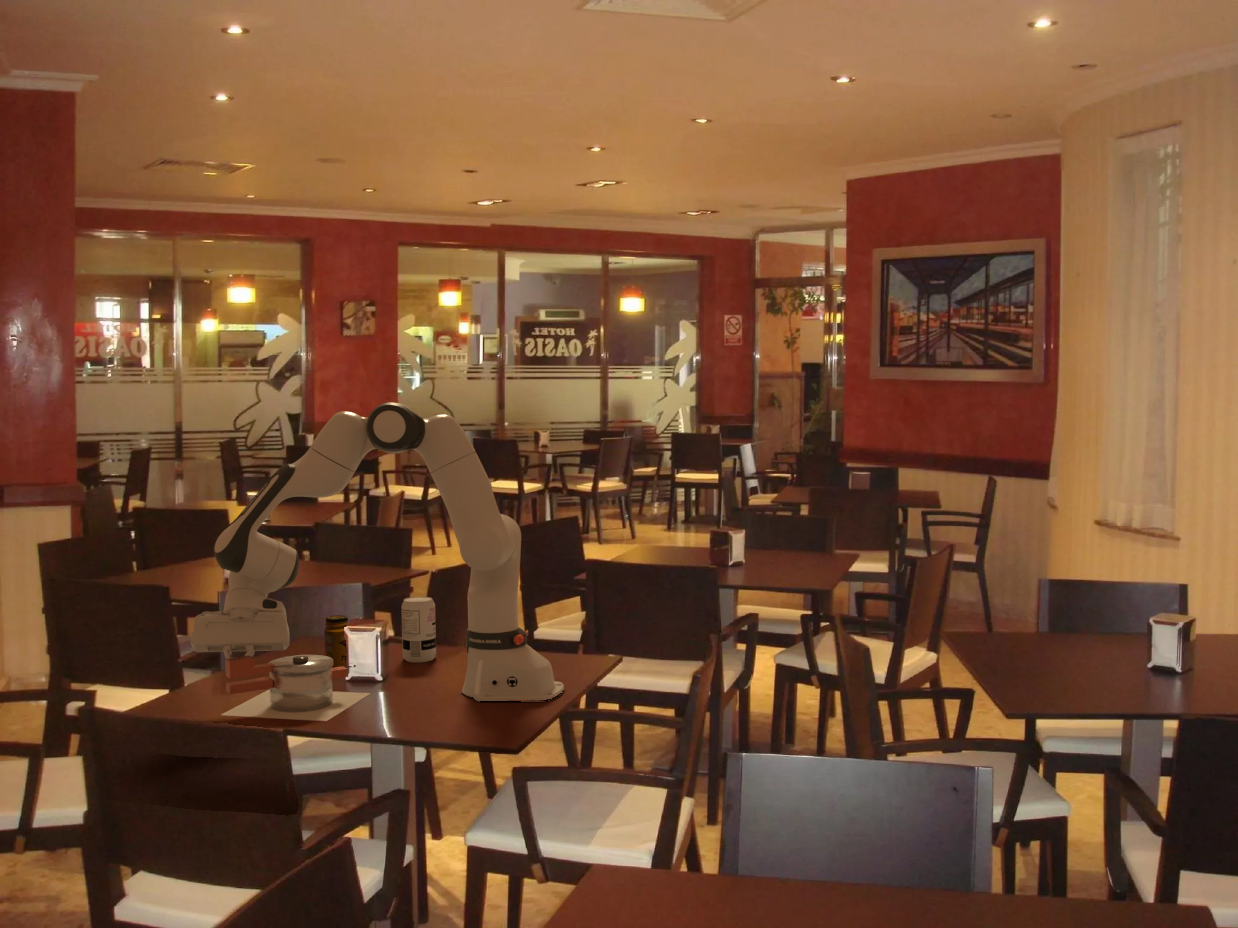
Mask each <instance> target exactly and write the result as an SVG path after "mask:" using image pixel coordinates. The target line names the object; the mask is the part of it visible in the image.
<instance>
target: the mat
mask: <svg viewBox="0 0 1238 928" xmlns="http://www.w3.org/2000/svg"><path fill="white" fill-rule="evenodd" d="M371 694H372V693H371V692H370V693H369V692H353V691H351V692H350V691H333V703H332V705H330V706H328V707H326V708H323V709H319V710H315V711H308V712H280V711H276V710H273V709H272V708H271V706H270V688H269V689H266V690H265V691H264V692H262V693H260V694H258V695H256V696H254V697H252V698H250V699H248V700H247V701H245V702H243V703H241V704H239V705H237V706H235V707H232V708H231V709H229V710H227V711H225V712H223V713H221V714H220V716H222V717H223V716H227V717H244V718H245V717H246V718H249V717H250V718H260V719H261V718H264V719H280V720H281V719H283V720H294V721H295V720H298V721H315V722H316V721H317V722H327V721H329V720H331V719H332V718H334V717H336V716H338V715H339V714H341V713H342V712H344V711H345V710H348V709H349V708H350V707H352V706H354V705H355V704H356V703H358V702H360V701H361V700H363V699H365V698H366V697H368V696H369V695H371Z"/></svg>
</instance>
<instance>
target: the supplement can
mask: <svg viewBox="0 0 1238 928" xmlns="http://www.w3.org/2000/svg"><path fill="white" fill-rule="evenodd" d="M436 627H437V626H436V604H435V602H434V600H433V598H432V597H429V596H412V597H405V598H403V602H402V604H401V636H402V637H401V639H402V640H401V643H402V647H401V648H402V659H404V660H405V661H406V662H408V663H415V664H416V663H426V662H430V661H433V660H434V658H436V657H437V635H436V634H437V633H436V632H437V631H436V630H437V629H436Z"/></svg>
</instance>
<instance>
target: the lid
mask: <svg viewBox="0 0 1238 928" xmlns="http://www.w3.org/2000/svg"><path fill="white" fill-rule="evenodd" d="M224 663H225V664H224V666H225V667H224V669H225V677H227V678H228V679H230V680H231V679H236V678H237V679H238V678H244V677H251V676H256V674H261V673H263V674H264V673H268V672H272V673H277V674H289V675H294V674H308V673H315V672H320V671H324V670H327V669H329V668H331V667H332V666H333V659H332V658H331V657H328V656H325V655H323V654H322V655H320V654H298V655H289V656H288V655H287V656H283V657H279V658H274V659H272V660H270V661H269V662H268V663H262V664H261V663H260V664H256V663H255V657H254V656H253V657H252V656H250V655H249V656H245V655H243V656H236V657H234V658H228V659H226V658H224ZM255 664H256V665H255Z"/></svg>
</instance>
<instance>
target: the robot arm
mask: <svg viewBox="0 0 1238 928" xmlns="http://www.w3.org/2000/svg"><path fill="white" fill-rule="evenodd" d="M373 450H377V451H381V452H384V453H387V454H390V455H398V454H404V453H406V452H409V451H411V450H412V451H415V452H416V453H418V454H419V456H420V457H421V458H422V460H423V461H424V463H425V465H426V468H427V469H428V472H429V474H430V476H431V478H432V480H433V481H434V484H435V487H436V488H437V490H438V492H439V495H440V497H441V498H442V501H443V502H444V505H445V507H446V510H447V514H448V516H449V520H450V523H451V526H452V529H453V533H454V535H455V539H456V541H457V543H458V547H459V553H460V556H461V559H462V560H463V562H464V563H465V564H466V565H467V566H468V567H469V568H470V576H469V577H470V578H469V584H468V585H469V586H468V590H467V621H468V623H467V624H468V627H467V629H466V634H465V635H466V636H465V646H466V653H467V661H466V662H467V664H466V671H465V672H466V673H465V677H464V683H463V686H462V690H461V692H462V694H463V695H465V696H466V697H469V698H472V697H473V699H474V700H475V701H477V702H480V701H507V700H546V699H551V698H552V697H555V696H557V695H558V694H560V693H562V694H563V692H564V691H565V686H564V683H563V682H561V681H556V680H555V675H554V671H553V670H554V669H553V667H552V664H551V662H550V660H548V659H547V658H546V657H545V656H543V655H542V654H540V653H539V652H538V651H536V650H535V649H533V647H531V646H530V645H528V636H529V630H528V629H526V630H525V631H524V630H523V629H522V628H521V627H520V626H519V597H518V596H519V579H520V570H521V567H520V566H521V551H522V549H521V547H522V546H521V545H522V532H521V528H520V526H519V523H517V522H516V521H515V519H514V518H512V517H510V516H508V515H507V514H506V515H505V514H503V513H500V510H499V507H498V504H497V501H496V498H495V494H494V490H493V486H492V482H491V480H490V478H489V477H488V476H489V475H488V474H487V472H486V470H485V467H484V466H483V463H482V462H481V460H480V458H479V456H478V454H477V452H476V450H475V448H474V445H473V444H472V442H471V440H470V438H469V437H468V435H467V434H466V432H465V430H464V429H463V427H462V426H461V425H460V424H459V423H458V421H457V420H456V418H455V417H453V416H451V415H449V414H447V413H445V414H444V413H443V414H442V413H441V414H435V415H432V416H430V417H426V418H423V417H421V416H420V415H419V414H417V413H416V412H415V411H413V410H412V409H411V408H410V407H409V406H407V405H406V404H402V403H398V402H392V401H391V402H389V401H388V402H384V403H381V404H379V405H377V406H376V407H375V408H374V409H373V410H371V412H369V415H368V416H367V417H365V416H361V415H359V414H357V413H355V412H352V411H346V410H345V411H344V410H343V411H342V410H341V411H339V412H336V413H335V414H333V416H331V418H330V419H329V420H327V422H326V423H325V425H324V426H323V427H322V429H321V430H320V432H318V434H317V435H316V437H315V438H314V440H313V442H312V444H311V445H310V447H309V448H308V450H306V452H305V453H304V454H303V455H302V456H301V457H300V458H299V459H297V460H296V461H295V462H292V463H285V464H283V465H281V467H279V468H278V469H277V470H276V471H275V472H274V473H273V475H271V476H270V478H269V479H268V480H267V481H266V482H265V483H264V485H262V487H260V489H259V490H258V491H257V492H256V494H255V496H254V497H252V499H251V500H250V501H249V502H248V504H247V505H246V506H245V507H244V508H243V509H242V511H241V512H240V514H239V515H238V516H237V517H236V518H235V519H234V520H233V521H231V523H230V524H228V525H227V526H226V527H225V528H224V529H223V530H222V532H221V533H220V534H219V535H218V537H217V538H216V541H215V543H214V545H213V554H214V557H215V560H216V562H217V564H218V565H219V568H221V569H223V570H226V571H229V573H228V574H229V575H228V583H227V584H228V590H227V591H226V594H225V599H224V605H223V610H220V611H219V610H218V611H202V613H199V614H197V615H195V617H194V620H193V623H192V625H193V630H192V632H191V636H190V645H191V648H192V649H193V651H195V652H196V653H220V652H223V654H224V656H225V659H228V658H235V657H233V656H232V657H231V655H232V654H233V653H232V652H245V654H244V656H249V655H250V656H252V657H253V658H254V655H255V652H264V651H266V652H267V651H270V652H272V651H274V652H275V651H285V650H287V649H288V647H289V646H290V628H289V624H288V621H287V611H286V608H285V605H284V604H283V602H282V601H279V600H276V599H272V598H268V595H269V594H270V593H276V592H278V591H280V590H283V589H285V588H286V587H288V586H290V585H292V583H294V581H295V580H296V578H297V576H298V575H299V574H298V573H299V569H300V558H299V553H298V552H297V550H296V549H295V548H293V547H292V546H290V545H288V544H285V543H284V542H282V541H279V540H277V539H274V538H271V537H270V536H267V535H265V534H262V533H260V532H258V529H259V528H260V526H261V525H263V523H264V522H265V521H266V520H267V519H268V517H269V516H270V514H271V513H273V511H275V509H276V508H277V507H278V505H279V504H280V503H281V502H283V501H285V500H286V499H290V498H294V497H295V498H296V497H297V498H298V497H300V498H301V497H305V498H316V499H317V498H319V499H320V498H321V499H322V498H328V497H332V496H335V495H338V494H339V493H341V492H343V491H344V489H345V488H346V487H347V485H348V484H349V483H350V481H352V478H353V477H354V474H355V473H356V471H357V469H358V467H359V466H360V464H361V462H362V460H363V459H364V458H365V456H366V455H367V454H368V453H369V452H371V451H373ZM563 690H564V691H563ZM562 691H563V692H562ZM560 695H561V694H560ZM551 700H552V699H551Z"/></svg>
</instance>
